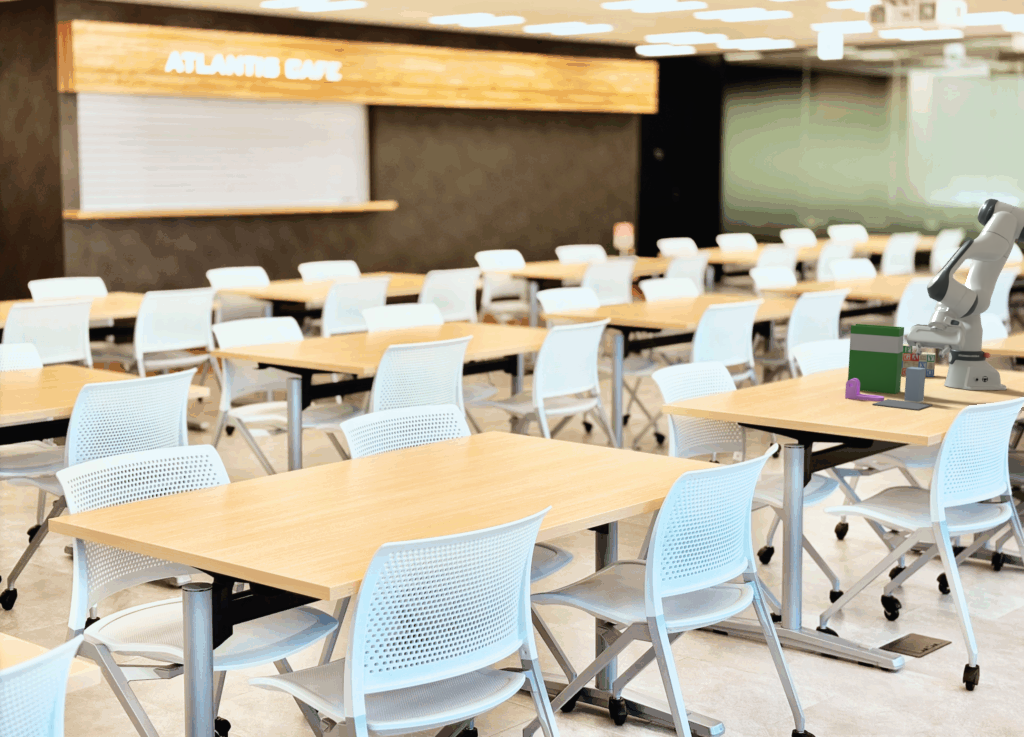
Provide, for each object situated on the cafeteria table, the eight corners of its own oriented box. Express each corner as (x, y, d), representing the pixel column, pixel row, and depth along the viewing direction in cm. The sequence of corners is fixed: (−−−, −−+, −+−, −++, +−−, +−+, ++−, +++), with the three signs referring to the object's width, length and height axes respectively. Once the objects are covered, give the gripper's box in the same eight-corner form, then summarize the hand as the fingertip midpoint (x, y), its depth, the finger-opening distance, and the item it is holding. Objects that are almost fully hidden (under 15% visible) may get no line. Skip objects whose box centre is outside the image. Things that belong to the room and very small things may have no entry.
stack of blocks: (934, 375, 536) (936, 345, 535) (933, 377, 530) (935, 347, 529) (879, 372, 543) (881, 342, 542) (878, 374, 538) (880, 343, 536)
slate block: (909, 400, 469) (911, 366, 468) (923, 401, 466) (925, 368, 465) (904, 401, 465) (906, 368, 464) (918, 403, 462) (920, 369, 461)
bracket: (845, 398, 471) (846, 379, 470) (849, 396, 476) (850, 377, 475) (881, 402, 465) (883, 382, 464) (885, 400, 469) (886, 380, 469)
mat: (888, 400, 468) (888, 399, 468) (932, 405, 458) (932, 404, 458) (872, 404, 457) (872, 403, 457) (917, 410, 447) (917, 409, 447)
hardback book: (847, 389, 492) (851, 325, 489) (852, 387, 498) (856, 323, 495) (895, 394, 483) (899, 328, 480) (900, 391, 490) (904, 327, 486)
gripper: (911, 318, 484) (899, 346, 478) (967, 322, 472) (955, 352, 465) (914, 329, 488) (903, 358, 482) (970, 334, 476) (959, 363, 469)
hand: (929, 355), depth 473 cm, fingers open, 7 cm apart
